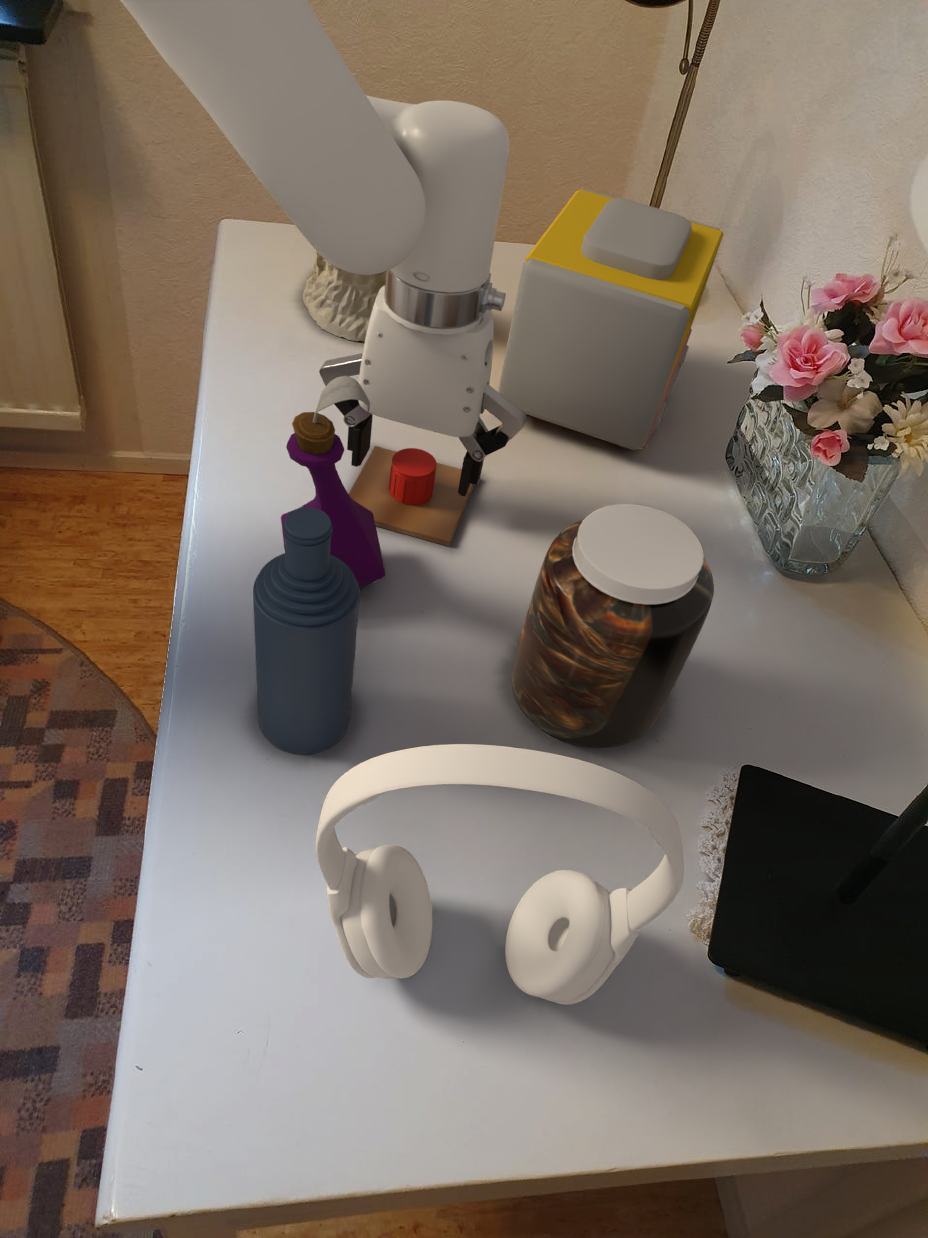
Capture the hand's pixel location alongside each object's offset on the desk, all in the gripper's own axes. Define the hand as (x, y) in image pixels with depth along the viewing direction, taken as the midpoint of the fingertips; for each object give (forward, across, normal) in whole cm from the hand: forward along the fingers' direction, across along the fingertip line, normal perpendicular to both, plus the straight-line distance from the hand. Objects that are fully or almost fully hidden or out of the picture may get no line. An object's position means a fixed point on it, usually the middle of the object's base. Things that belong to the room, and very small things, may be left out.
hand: (412, 471), depth 81 cm
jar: (+3, -19, +16) cm, 25 cm away
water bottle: (+3, 0, +26) cm, 26 cm away
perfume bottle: (+3, +3, +12) cm, 13 cm away
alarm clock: (+3, -13, -23) cm, 27 cm away
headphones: (+3, -15, +39) cm, 42 cm away
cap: (+2, 0, 0) cm, 2 cm away
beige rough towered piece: (+3, +13, -30) cm, 33 cm away
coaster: (+3, 0, 0) cm, 3 cm away
